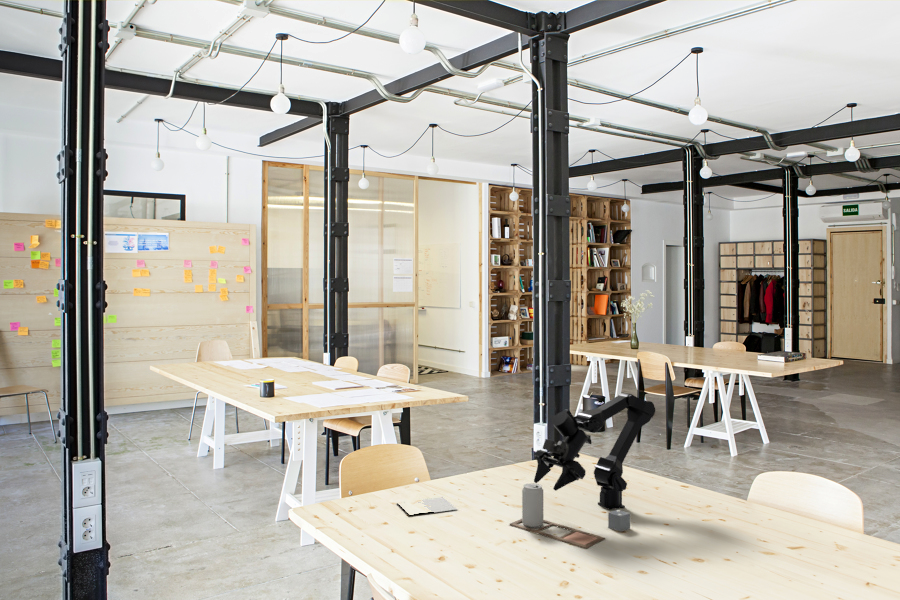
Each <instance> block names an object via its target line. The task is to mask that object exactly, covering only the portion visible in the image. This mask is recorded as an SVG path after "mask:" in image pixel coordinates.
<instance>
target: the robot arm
mask: <svg viewBox="0 0 900 600" xmlns="http://www.w3.org/2000/svg"><path fill="white" fill-rule="evenodd" d="M624 410H627V411H626V415H627V417H626V418H627V420H626V422H625V424H624V426H623V428H622V429H621V431H620V433H619V435H618V437H617V439H616V440H615V443H614V444H613V446H612V449H611V450H610V453H609V454H608V455H607V456H606V457H602V456H600V457H599V458H598V460H597V463H596V464H595V465H594V470H593V475H594V479H595V481H596V485H597V486H598V487H600V492H599V502H597V505H599V506H601V507H603V508H604V509H606V510H609V511H613V510H619V509H625V508H626V505H624V504H623V491H625V490H626V489H627V486H628V483H627V481H626V480H625V479H624V478H623V476H622V475H623V473H624V470H623V469H624V468H623V463H624V461H625V460H626V457H627V455H628V453H629V452H630V450H631V447H632V446H633V444H634V441H635V440H636V438H637V435H638V434H639V432H640V430H641V429H642V427H644V426H646V425H647V424H648V423H649V422H650V421H651V420H652V419H653V417H654V416H655V413H656V406H655V404H654V402H652V401H650V400H644V399H642V398H640V397H637V396H635V395H633V394H632V393H628V392H621V393H619V394H618V395H617V396H615V397H613V398H612V399H610V400H608V401H607V402H605V403H603V404H602V405H600V406H598V407H596V408H591V409H585V410H584V411H581V412H578V413H577V415H575V416H574V415H573V414H572V412H571V410H569V409H567V408H566V409H565V408H564V409H563V410H562V411H560V412H559V413H556V414H555V415H554V416H553V417H552V419H551V424H552V425H553V426H554V428H555V429H556V430H557V431H558V432H559V434H560V435H561V436H562V437H565V438H564V439H563V440H558V442H557V441H554V440H552V439H547V438H546V439H545V440H544V443H543V445H542V449H537V450H536V451H535V453H534V455H533V456H534V458H535V461H537V462H536V463H537V467H536V471H535V472H536V473H535V475H534V479H533V482H534V483H535V484H538V483H539V482H540V481H541V480H542V479H543V478H544V477H546V475H548V474H549V473H550V472H551V470H552V469H551V468H553V467H554V466H557V467H559V468H562V471H561V474H560V476H559V477H558V479H557V481H556V482H555V484H554V486H553V490H554V491H558V490H560V489H562V488H563V487H565V486H566V485H570V484H571V483H573V482H576V481H579V480H583V479H584V478H585V476H586V472H587V471H586V469H585V468H584V467H583V466H582V464H580V462H579V461H577V460H575V459H576V458H577V459H579V458H580V456H581V455H580V454H579V452H580V451H581V450H582V448H583V447H584V446H585V444H587V445H592V438H591V437H592V436H591V435H590V434H587V433H586V432H588V433H592V434H595V433H597V432H598V431H599V430H601V428H603V426H604V425H605V422H606V421H607V420H609V419H610V418H612V417H614V416H616V415H618V414H619V413H621V412H623V411H624ZM545 450H547V451H545Z"/></svg>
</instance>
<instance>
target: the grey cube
mask: <svg viewBox="0 0 900 600" xmlns="http://www.w3.org/2000/svg"><path fill="white" fill-rule="evenodd" d="M607 516H608V517H607V518H608V519H607V521H608V523H607V525H608V527H607V528H609V529H612V530H615V531H617V532H620V533H621V532H623V531H624V532H625V531H627V530H630V529H631V512H627V511H624V510H620V509H614V510H611V511H610V512H608V513H607Z"/></svg>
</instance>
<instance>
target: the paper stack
mask: <svg viewBox="0 0 900 600" xmlns="http://www.w3.org/2000/svg"><path fill="white" fill-rule="evenodd" d="M422 501H423V502H424V503H422V504H424V505H428V506H424V507H427V508H428V509H429V510H431V511H432V512H434V513H441V512H448V511H456V510H458V508H457V507H456V506H454V505H453V504H452V503H451V502H450V501H448V500H447V499H446V498H444V496H438V497H432V498H429V497H428V498H423V500H422ZM418 503H421V502H418ZM429 506H431V507H429Z"/></svg>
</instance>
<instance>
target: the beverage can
mask: <svg viewBox="0 0 900 600" xmlns="http://www.w3.org/2000/svg"><path fill="white" fill-rule="evenodd" d="M521 493H522V494H521V495H522V497H521V501H522V502H521V503H522V504H521V505H522V508H521V509H522V511H521V513H522V517H521V519H522V522H521V523H522V524H523V526H524V527H528V528H530V527H531V529H539V528H541V527H542V526H543V524H544V523H543V520H544V489H543V485H541V484H540V483H535V482H534V483H532V482H531V483H525V484H523V487H522V489H521Z"/></svg>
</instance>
